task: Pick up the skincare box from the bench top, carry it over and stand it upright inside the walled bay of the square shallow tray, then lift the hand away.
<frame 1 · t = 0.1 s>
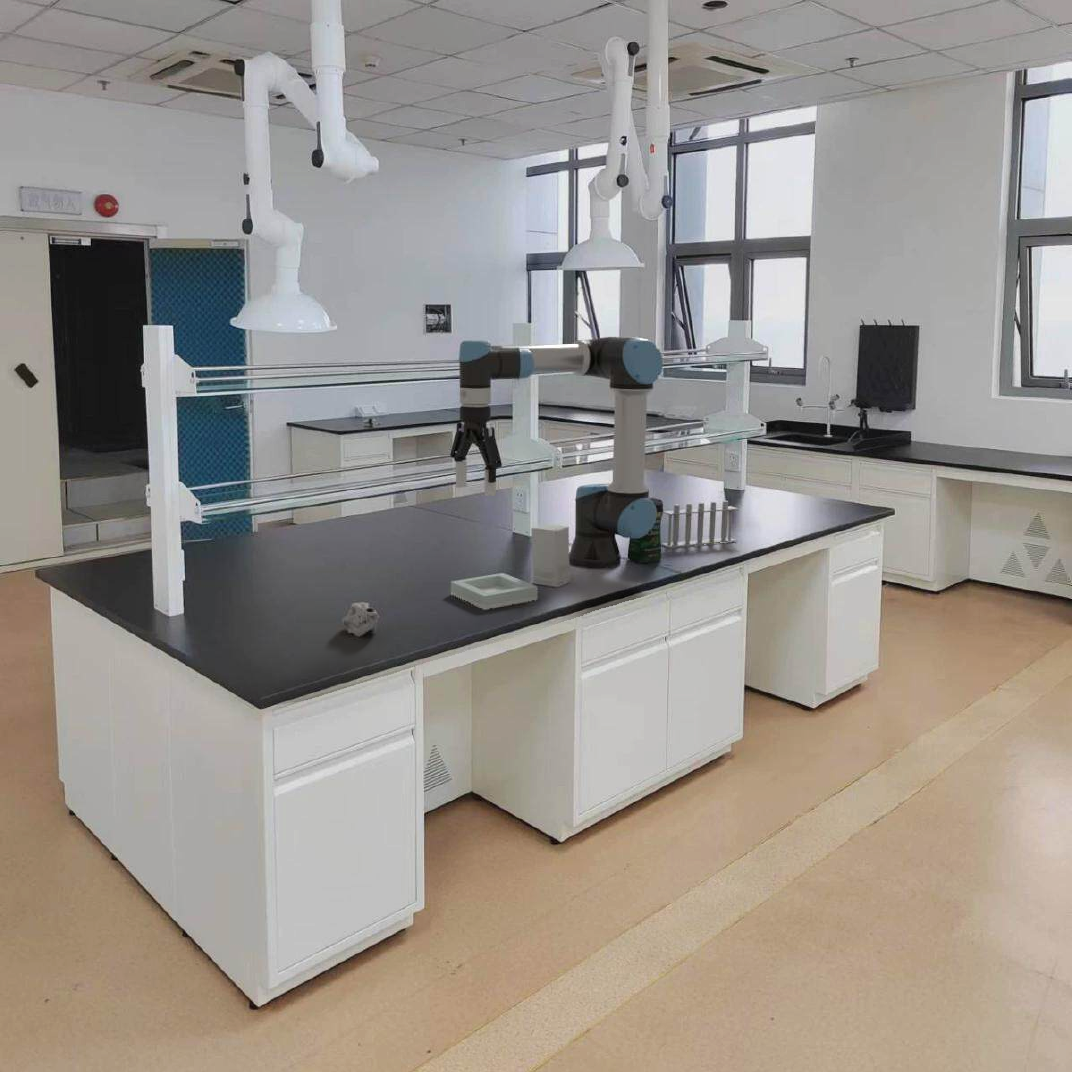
hand: (475, 491, 255), 28 cm above the counter, tool pointing down, fingers open, 13 cm apart
skull: (361, 634, 235), on the counter
test tube rack: (699, 544, 325), on the counter
coffee jar: (644, 561, 303), on the counter
skincare box: (550, 584, 278), on the counter
square shallow tray: (493, 597, 264), on the counter
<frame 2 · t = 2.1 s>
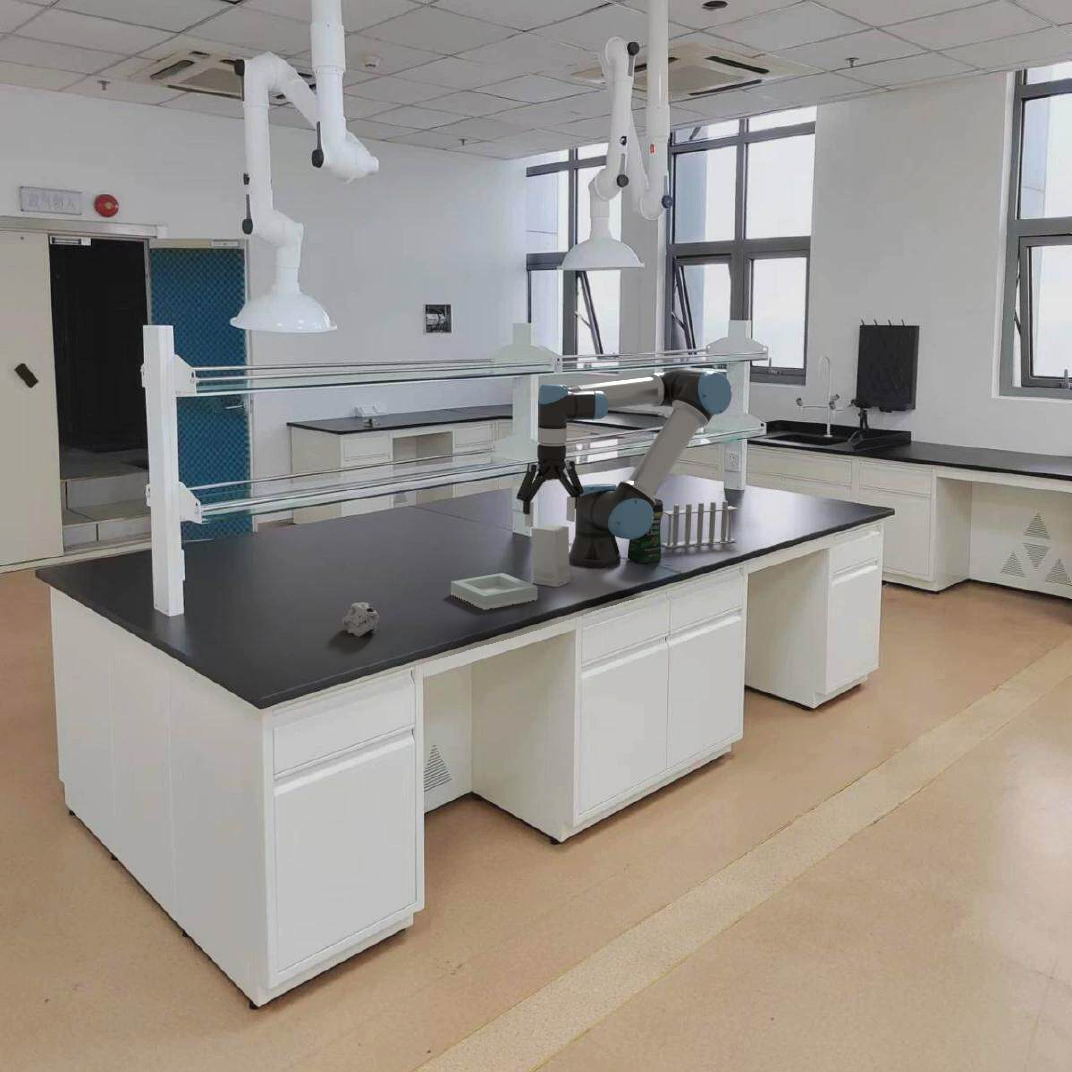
hand: (550, 523, 274), 16 cm above the counter, tool pointing down, fingers open, 13 cm apart
nothing on the counter moved.
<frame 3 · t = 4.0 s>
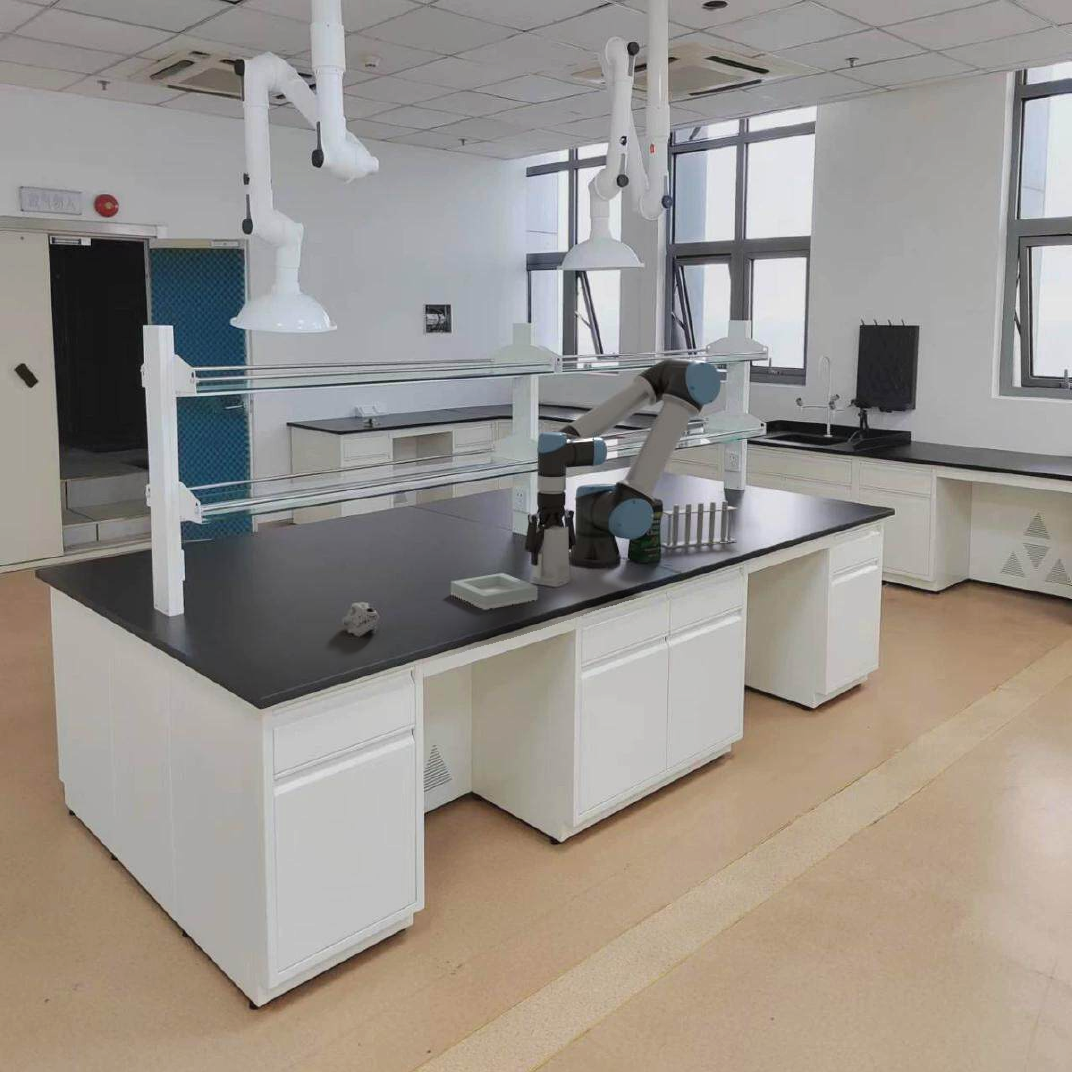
hand: (550, 574, 277), 2 cm above the counter, tool pointing down, fingers closed on skincare box, 8 cm apart
skincare box: (549, 584, 278), on the counter, touching gripper
everything else where it was.
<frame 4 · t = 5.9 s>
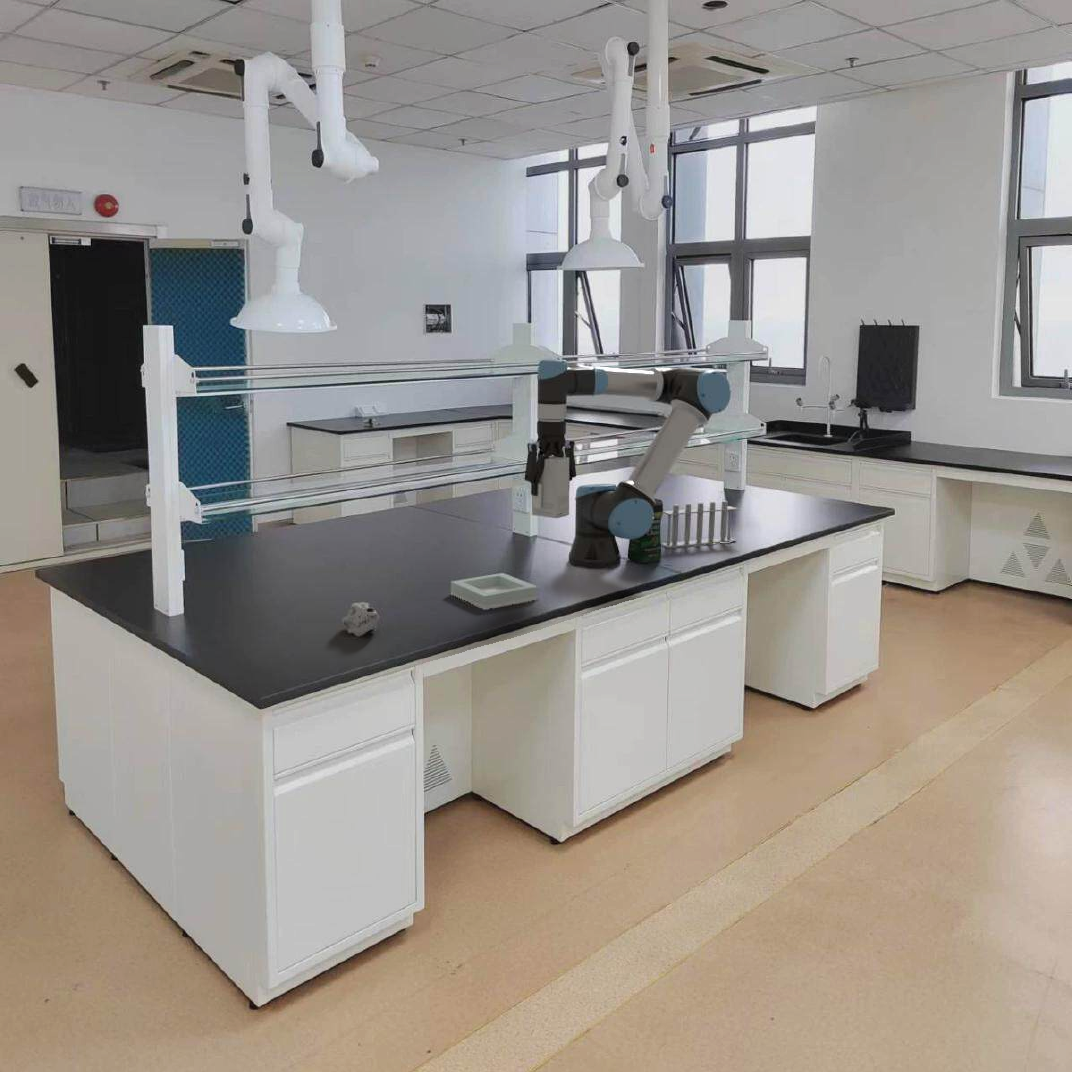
hand: (550, 506, 273), 21 cm above the counter, tool pointing down, fingers closed on skincare box, 8 cm apart
skincare box: (549, 516, 273), point 19 cm above the counter, touching gripper
everything else where it was.
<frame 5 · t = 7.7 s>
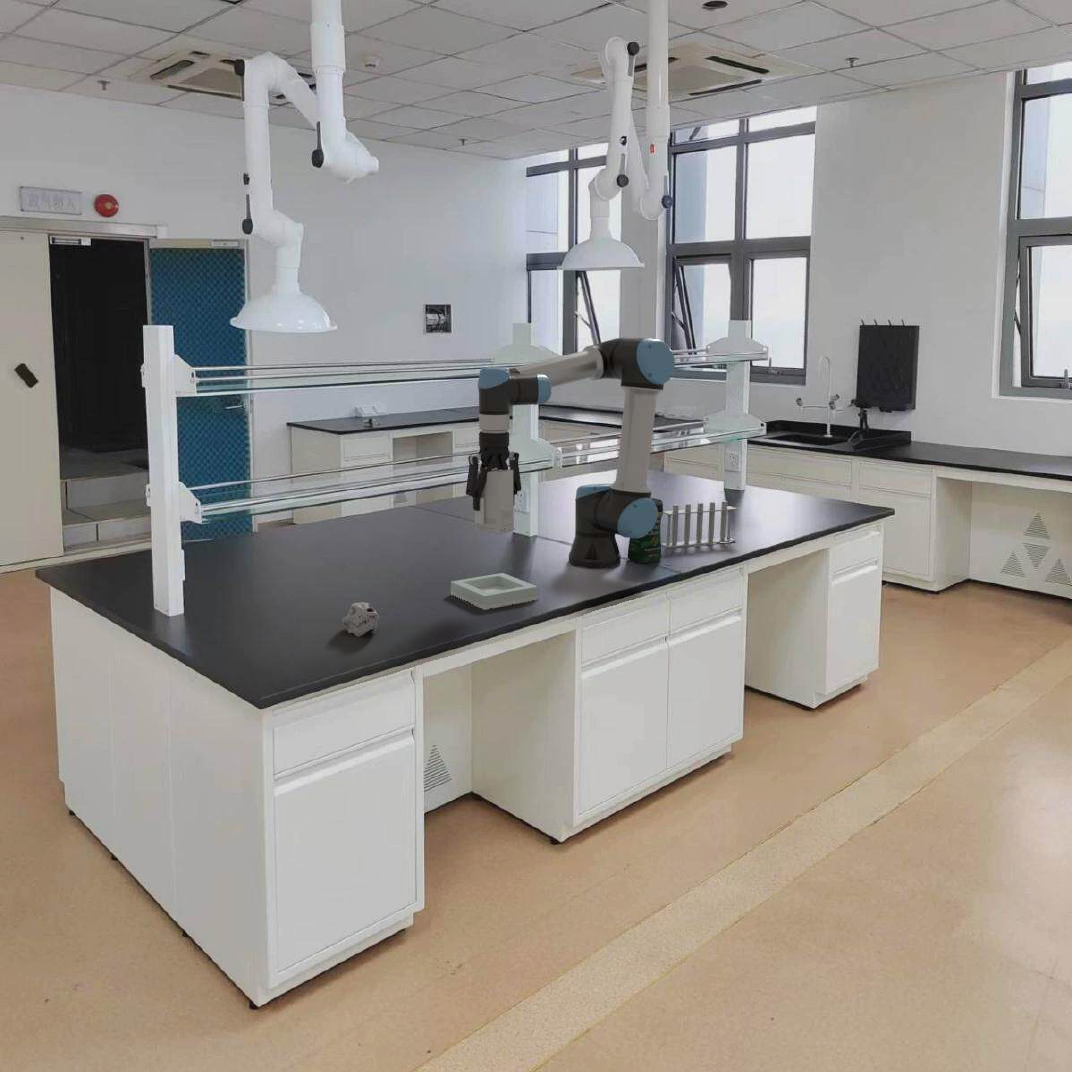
hand: (493, 521, 260), 20 cm above the counter, tool pointing down, fingers closed on skincare box, 8 cm apart
skincare box: (493, 531, 260), point 17 cm above the counter, touching gripper
everything else where it was.
when the fingers open (5 cm above the counter, at t = 10.7 s): skincare box drops 1 cm, resting on square shallow tray.
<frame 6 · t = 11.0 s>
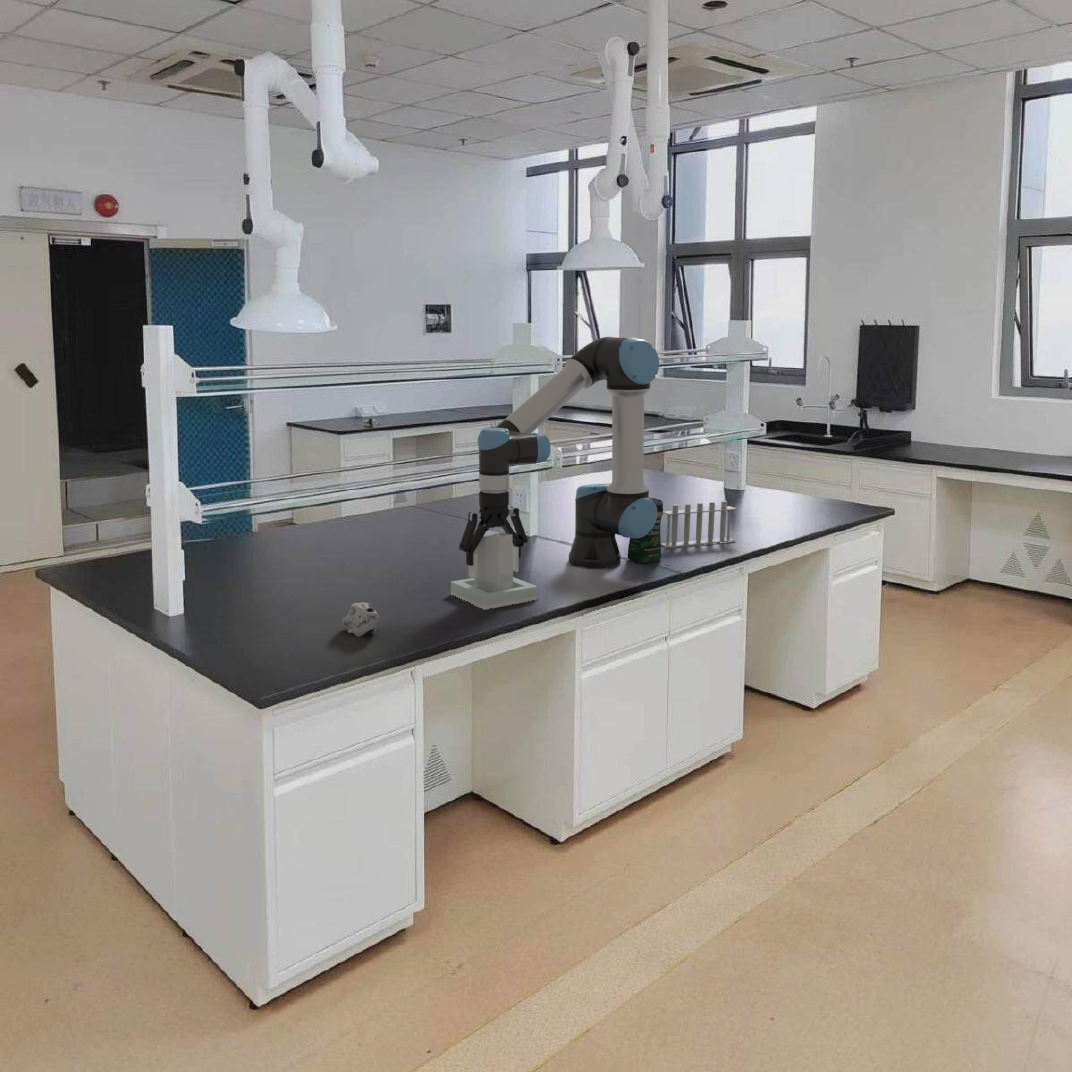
hand: (493, 574, 263), 6 cm above the counter, tool pointing down, fingers open, 12 cm apart
skincare box: (493, 594, 264), point 1 cm above the counter, touching square shallow tray
everything else where it was.
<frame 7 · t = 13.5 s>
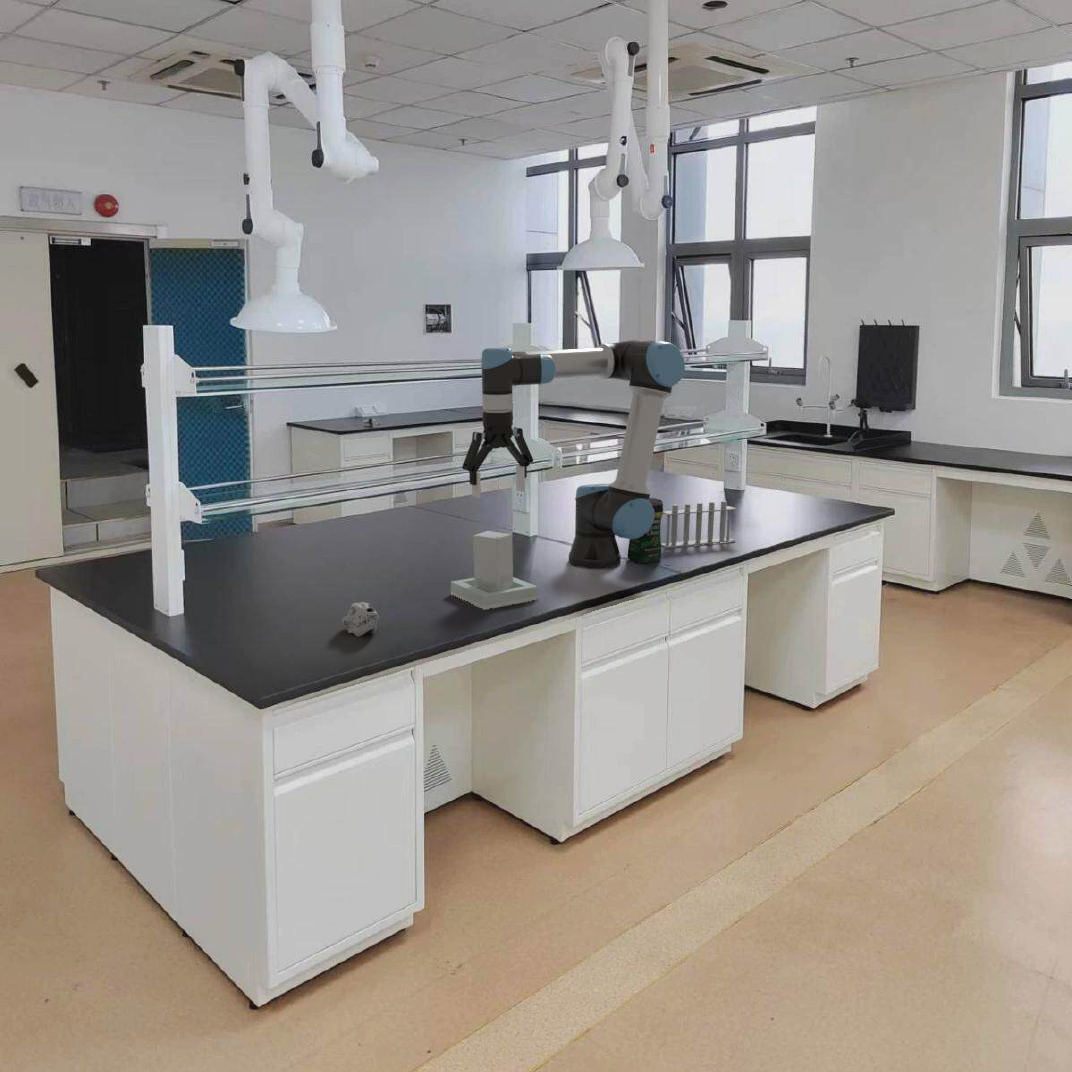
hand: (498, 494, 263), 26 cm above the counter, tool pointing down, fingers open, 13 cm apart
nothing on the counter moved.
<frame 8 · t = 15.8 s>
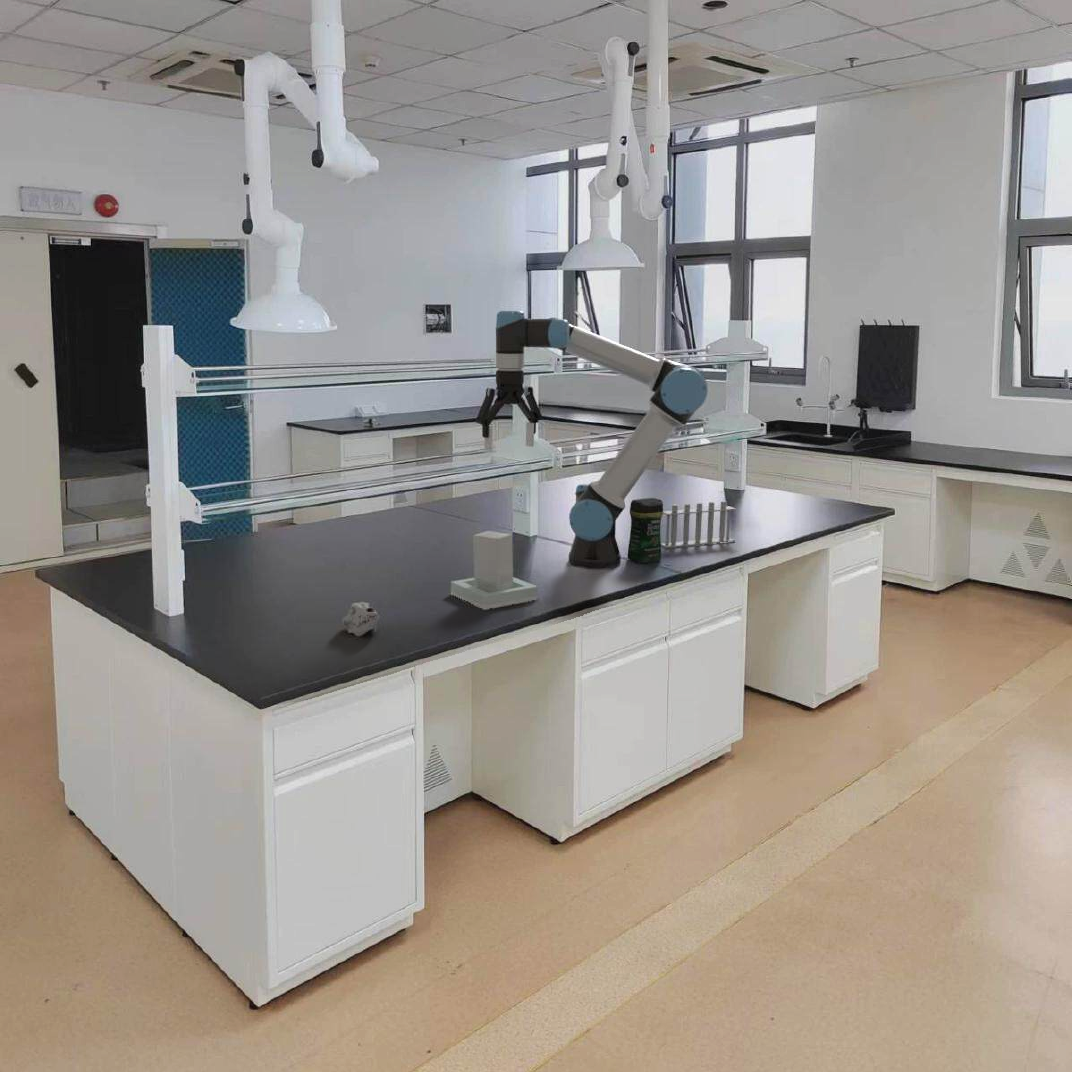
hand: (509, 448, 282), 35 cm above the counter, tool pointing down, fingers open, 13 cm apart
nothing on the counter moved.
at the end: skincare box inside the target area on the square shallow tray (0.2 cm from its centre), point 0.8 cm above the square shallow tray's base; skincare box tilted 0°; the gripper is holding nothing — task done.
